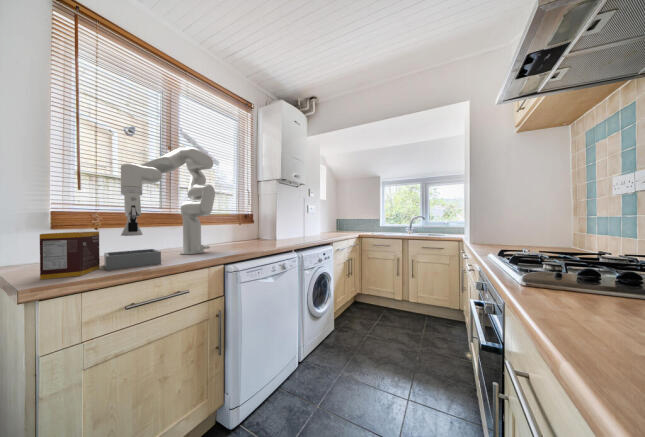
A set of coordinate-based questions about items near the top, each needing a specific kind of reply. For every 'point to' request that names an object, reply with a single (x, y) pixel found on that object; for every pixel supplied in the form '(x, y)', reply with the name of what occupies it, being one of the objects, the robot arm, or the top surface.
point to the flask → (126, 233)
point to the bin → (131, 258)
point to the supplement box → (68, 254)
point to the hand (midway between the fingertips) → (132, 231)
